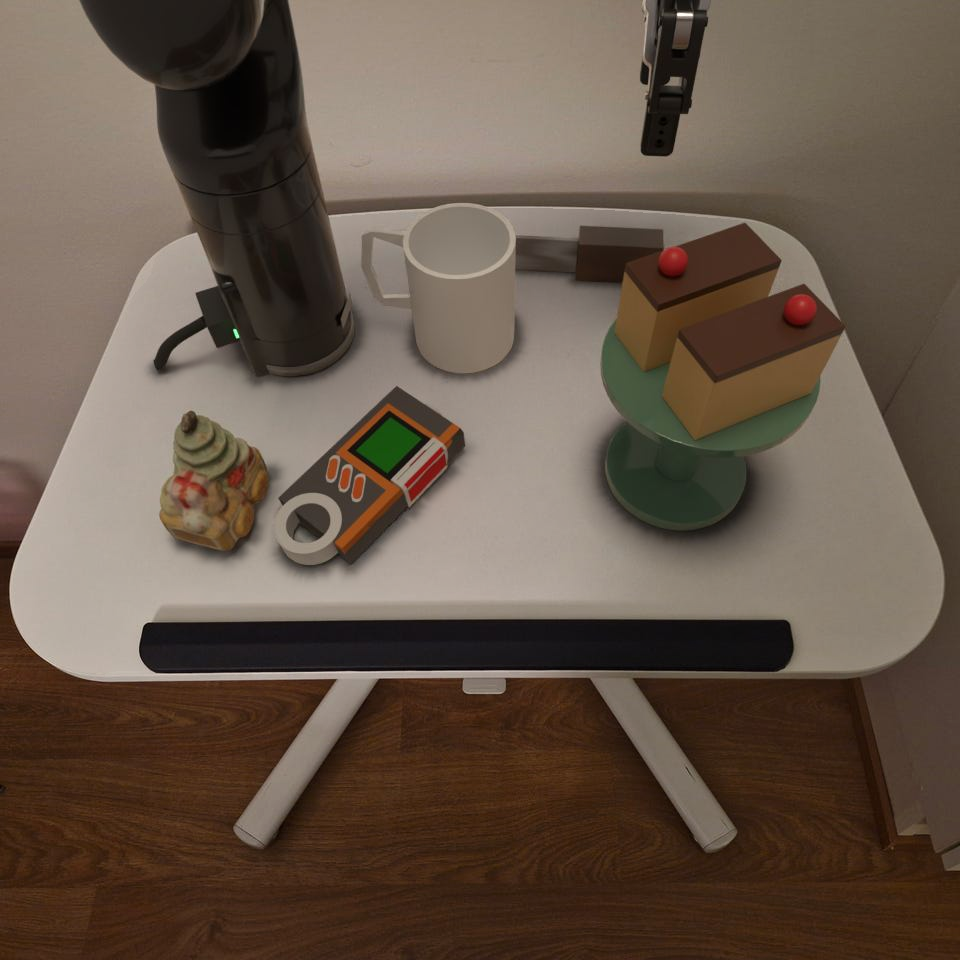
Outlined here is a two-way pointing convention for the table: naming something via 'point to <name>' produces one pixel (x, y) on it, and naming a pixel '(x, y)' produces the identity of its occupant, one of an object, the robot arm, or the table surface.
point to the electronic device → (367, 479)
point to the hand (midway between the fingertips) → (654, 116)
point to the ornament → (211, 485)
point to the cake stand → (680, 447)
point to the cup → (455, 284)
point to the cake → (723, 329)
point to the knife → (589, 252)
